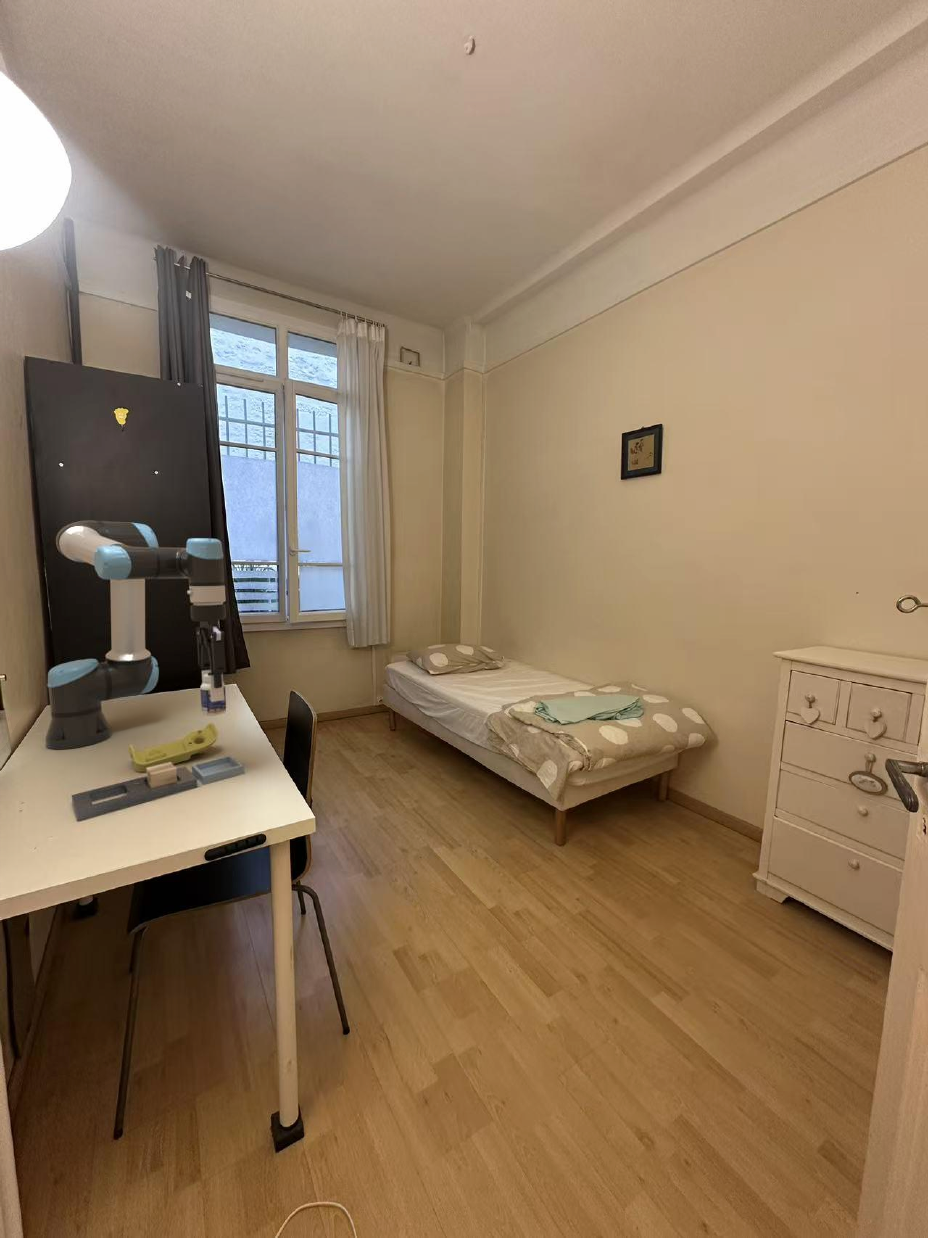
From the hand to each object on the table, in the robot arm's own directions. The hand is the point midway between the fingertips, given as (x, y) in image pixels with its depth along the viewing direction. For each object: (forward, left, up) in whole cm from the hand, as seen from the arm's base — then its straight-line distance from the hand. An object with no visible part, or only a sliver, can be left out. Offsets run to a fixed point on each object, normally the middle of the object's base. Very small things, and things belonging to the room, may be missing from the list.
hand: (213, 698), depth 119 cm
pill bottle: (0, 0, -4) cm, 4 cm away
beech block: (0, -12, -19) cm, 23 cm away
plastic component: (-17, -5, -20) cm, 27 cm away
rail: (0, -17, -19) cm, 26 cm away
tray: (0, 0, -19) cm, 19 cm away
